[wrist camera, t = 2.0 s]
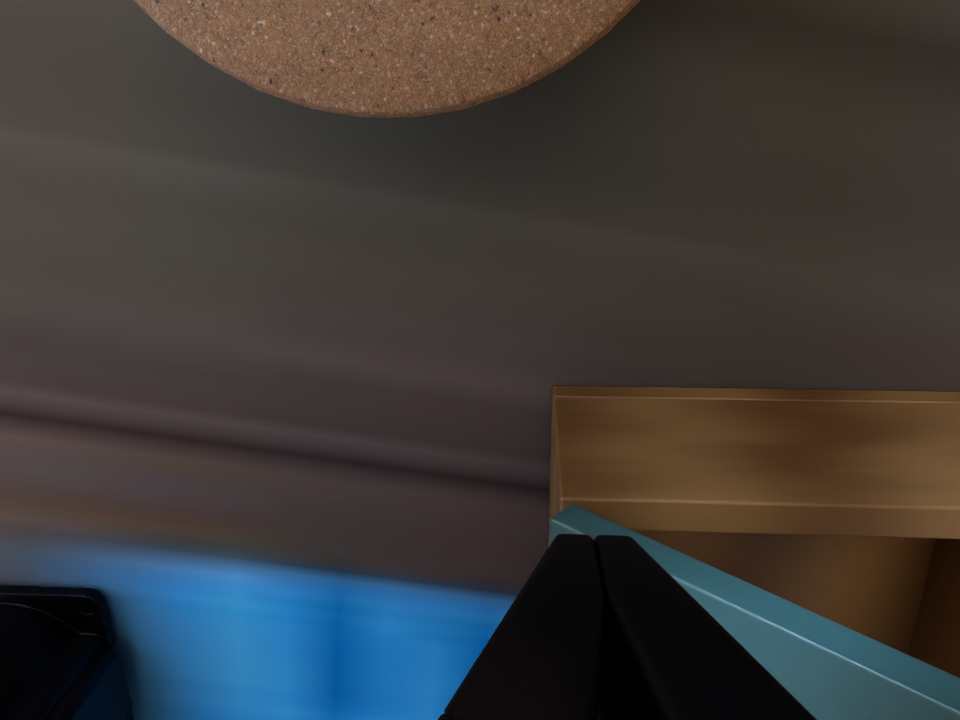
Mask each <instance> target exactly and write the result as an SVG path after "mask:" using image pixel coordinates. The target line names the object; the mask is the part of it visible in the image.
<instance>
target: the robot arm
mask: <svg viewBox="0 0 960 720" xmlns="http://www.w3.org/2000/svg"><path fill="white" fill-rule="evenodd" d="M87 603H89V604H90V605H92V606H89V605H88V604H87ZM0 720H133V715H132V711H131V700H130V695H129V691H128V686H127V682H126V677H125V673H124V669H123V664H122V660H121V655H120V652H119V651H118V649H117V645H116V640H115V636H114V632H113V627H112V623H111V618H110V614H109V610H108V605H107V601H106V599H105V596H104V595H103V594H102V593H101V592H99V591H97V590H95V589H91V588H66V587H35V586H4V585H0ZM438 720H817V719H816V718H815V717H814V716H813V715H812V714H811V713H810V712H809V711H808V710H807V709H806V708H805V707H804V706H803V705H802V704H801V703H800V702H799V701H798V700H797V699H796V698H795V697H794V696H793V695H792V694H791V693H790V692H789V691H788V690H786V689H785V688H784V687H783V686H782V685H781V684H780V683H779V682H778V681H777V680H776V679H775V678H774V677H773V676H772V675H771V674H770V673H769V672H768V671H767V670H766V669H765V668H764V667H763V666H762V665H761V664H760V663H759V662H758V661H757V660H756V659H755V658H754V657H753V656H752V655H751V654H750V653H749V652H748V651H747V650H746V649H745V648H744V647H743V646H742V645H741V644H740V643H739V642H738V641H737V640H736V639H735V638H734V637H733V636H732V635H731V634H730V633H729V632H728V631H727V630H726V629H725V628H724V627H723V626H722V625H720V624H719V623H718V622H717V621H716V620H715V619H714V618H713V617H712V616H711V615H710V614H709V613H708V612H707V611H706V610H705V609H704V608H703V607H702V606H701V605H700V604H699V603H698V602H697V601H696V600H695V599H694V598H693V597H692V596H691V595H690V594H689V593H688V592H687V591H686V590H685V589H684V588H683V587H682V586H681V585H680V584H679V583H678V582H677V581H676V580H675V579H674V578H673V577H672V576H671V575H670V574H669V573H668V572H667V571H666V570H665V569H664V568H663V567H662V566H661V565H660V564H659V563H658V562H657V561H656V560H655V559H653V558H652V557H651V556H650V555H649V554H648V553H647V552H646V551H645V550H644V549H643V548H642V547H641V546H640V545H639V544H638V543H637V542H636V541H635V540H634V539H633V538H632V537H630V536H627V535H598V536H596V537H595V539H593V538H592V536H590V535H588V534H558V535H557V536H556V537H555V538H554V540H553V541H552V543H551V544H550V546H549V548H548V549H547V551H546V552H545V554H544V555H543V557H542V558H541V560H540V562H539V563H538V565H537V566H536V568H535V569H534V571H533V572H532V574H531V576H530V577H529V579H528V580H527V582H526V583H525V585H524V587H523V588H522V590H521V591H520V593H519V594H518V596H517V597H516V599H515V601H514V602H513V604H512V605H511V607H510V608H509V610H508V611H507V613H506V615H505V616H504V618H503V619H502V621H501V622H500V624H499V626H498V627H497V629H496V630H495V632H494V633H493V635H492V636H491V638H490V640H489V641H488V643H487V644H486V646H485V647H484V649H483V650H482V652H481V654H480V655H479V657H478V658H477V660H476V661H475V663H474V665H473V666H472V668H471V669H470V671H469V672H468V674H467V675H466V677H465V679H464V680H463V682H462V683H461V685H460V686H459V688H458V690H457V691H456V693H455V694H454V696H453V697H452V699H451V700H450V702H449V704H448V705H447V707H446V708H445V711H444V714H442V715H441V716H440V717H439V718H438Z"/></svg>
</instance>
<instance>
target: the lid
mask: <svg viewBox="0 0 960 720" xmlns="http://www.w3.org/2000/svg"><path fill="white" fill-rule="evenodd" d="M558 534H588V535H590V536H592V538H593V539H595V537H596V536H598V535H627V536H630V537H632V538H633V539H634V540H635V541H636V542H637V543H638V544H639V545H640V546H641V547H642V548H643V549H644V550H645V551H646V552H647V553H648V554H649V555H650V556H651V557H652V558H653V559H655V560H656V561H657V562H658V563H659V564H660V565H661V566H662V567H663V568H664V569H665V570H666V571H667V572H668V573H669V574H670V575H671V576H672V577H673V578H674V579H675V580H676V581H677V582H678V583H679V584H680V585H681V586H682V587H683V588H684V589H685V590H686V591H687V592H688V593H689V594H690V595H691V596H692V597H693V598H694V599H695V600H696V601H697V602H698V603H699V604H700V605H701V606H702V607H703V608H704V609H705V610H706V611H707V612H708V613H709V614H710V615H711V616H712V617H713V618H714V619H715V620H716V621H717V622H718V623H719V624H720V625H722V626H723V627H724V628H725V629H726V630H727V631H728V632H729V633H730V634H731V635H732V636H733V637H734V638H735V639H736V640H737V641H738V642H739V643H740V644H741V645H742V646H743V647H744V648H745V649H746V650H747V651H748V652H749V653H750V654H751V655H752V656H753V657H754V658H755V659H756V660H757V661H758V662H759V663H760V664H761V665H762V666H763V667H764V668H765V669H766V670H767V671H768V672H769V673H770V674H771V675H772V676H773V677H774V678H775V679H776V680H777V681H778V682H779V683H780V684H781V685H782V686H783V687H784V688H785V689H786V690H788V691H789V692H790V693H791V694H792V695H793V696H794V697H795V698H796V699H797V700H798V701H799V702H800V703H801V704H802V705H803V706H804V707H805V708H806V709H807V710H808V711H809V712H810V713H811V714H812V715H813V716H814V717H815V718H816V719H817V720H960V678H958V677H956V676H954V675H952V674H949V673H947V672H945V671H943V670H941V669H938V668H936V667H934V666H932V665H929V664H927V663H925V662H923V661H921V660H918V659H916V658H914V657H912V656H910V655H907V654H905V653H903V652H901V651H898V650H896V649H894V648H892V647H890V646H887V645H885V644H883V643H881V642H878V641H876V640H874V639H872V638H870V637H867V636H865V635H863V634H861V633H859V632H856V631H854V630H852V629H850V628H847V627H845V626H843V625H841V624H839V623H836V622H834V621H832V620H830V619H828V618H825V617H823V616H821V615H819V614H816V613H814V612H812V611H810V610H808V609H805V608H803V607H801V606H799V605H797V604H794V603H792V602H790V601H788V600H785V599H783V598H781V597H779V596H777V595H774V594H772V593H770V592H768V591H765V590H763V589H761V588H759V587H757V586H754V585H752V584H750V583H748V582H746V581H743V580H741V579H739V578H737V577H734V576H732V575H730V574H728V573H726V572H723V571H721V570H719V569H717V568H715V567H712V566H710V565H708V564H706V563H703V562H701V561H699V560H697V559H695V558H692V557H690V556H688V555H686V554H683V553H681V552H679V551H677V550H675V549H672V548H670V547H668V546H666V545H664V544H661V543H659V542H657V541H655V540H652V539H650V538H648V537H646V536H644V535H641V534H639V533H637V532H635V531H633V530H630V529H628V528H626V527H624V526H621V525H619V524H617V523H615V522H613V521H610V520H608V519H606V518H604V517H602V516H599V515H597V514H595V513H593V512H590V511H588V510H586V509H584V508H582V507H579V506H577V505H575V504H571V505H570V506H568V507H567V508H565V509H564V510H562V511H561V512H559V513H557V514H556V515H554V516H553V517H552V518H551V520H550V544H551V543H552V541H553V540H554V538H555V537H556V536H557V535H558Z"/></svg>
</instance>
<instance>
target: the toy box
mask: <svg viewBox="0 0 960 720" xmlns="http://www.w3.org/2000/svg"><path fill="white" fill-rule="evenodd" d="M571 504H575V505H577V506H579V507H582V508H584V509H586V510H588V511H590V512H593V513H595V514H597V515H599V516H602V517H604V518H606V519H608V520H610V521H613V522H615V523H617V524H619V525H621V526H624V527H626V528H628V529H630V530H633V531H635V532H637V533H639V534H641V535H644V536H646V537H648V538H650V539H652V540H655V541H657V542H659V543H661V544H664V545H666V546H668V547H670V548H672V549H675V550H677V551H679V552H681V553H683V554H686V555H688V556H690V557H692V558H695V559H697V560H699V561H701V562H703V563H706V564H708V565H710V566H712V567H715V568H717V569H719V570H721V571H723V572H726V573H728V574H730V575H732V576H734V577H737V578H739V579H741V580H743V581H746V582H748V583H750V584H752V585H754V586H757V587H759V588H761V589H763V590H765V591H768V592H770V593H772V594H774V595H777V596H779V597H781V598H783V599H785V600H788V601H790V602H792V603H794V604H797V605H799V606H801V607H803V608H805V609H808V610H810V611H812V612H814V613H816V614H819V615H821V616H823V617H825V618H828V619H830V620H832V621H834V622H836V623H839V624H841V625H843V626H845V627H847V628H850V629H852V630H854V631H856V632H859V633H861V634H863V635H865V636H867V637H870V638H872V639H874V640H876V641H878V642H881V643H883V644H885V645H887V646H890V647H892V648H894V649H896V650H898V651H901V652H903V653H905V654H907V655H910V656H912V657H914V658H916V659H918V660H921V661H923V662H925V663H927V664H929V665H932V666H934V667H936V668H938V669H941V670H943V671H945V672H947V673H949V674H952V675H954V676H956V677H958V678H960V392H939V391H872V390H805V389H739V388H672V387H605V386H553V388H552V422H551V460H550V498H549V535H548V548H549V546H550V520H551V518H552V517H553V516H554V515H556V514H557V513H559V512H561V511H562V510H564V509H565V508H567V507H568V506H570V505H571Z"/></svg>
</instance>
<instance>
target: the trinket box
mask: <svg viewBox="0 0 960 720" xmlns="http://www.w3.org/2000/svg"><path fill="white" fill-rule="evenodd" d="M134 1H135V2H136V3H137V4H138V5H139V6H140V7H141V8H142V9H143V10H144V11H145V12H146V13H147V14H148V15H149V16H150V17H151V18H152V19H153V20H154V21H155V22H156V23H157V24H158V25H159V26H160V27H161V28H163V29H164V30H165V31H166V32H167V33H168V34H170V35H171V36H172V37H174V38H175V39H176V40H178V41H179V42H181V43H182V44H183V45H185V46H186V47H187V48H189V49H190V50H191V51H193V52H194V53H195V54H197V55H198V56H199V57H201V58H202V59H204V60H205V61H206V62H208V63H209V64H210V65H212V66H214V67H216V68H217V69H219V70H221V71H223V72H225V73H227V74H229V75H231V76H233V77H234V78H236V79H238V80H240V81H242V82H244V83H246V84H248V85H249V86H251V87H253V88H255V89H257V90H259V91H261V92H264V93H267V94H270V95H273V96H276V97H279V98H281V99H284V100H287V101H290V102H293V103H296V104H299V105H302V106H304V107H307V108H311V109H316V110H322V111H328V112H333V113H339V114H345V115H350V116H356V117H381V118H414V117H420V116H427V115H433V114H440V113H446V112H452V111H459V110H464V109H467V108H470V107H473V106H476V105H479V104H482V103H485V102H488V101H491V100H494V99H497V98H500V97H503V96H506V95H509V94H512V93H514V92H516V91H518V90H520V89H522V88H524V87H526V86H528V85H530V84H532V83H533V82H535V81H537V80H539V79H541V78H543V77H545V76H547V75H549V74H551V73H553V72H554V71H556V70H558V69H560V68H562V67H563V66H565V65H566V64H567V63H569V62H570V61H571V60H573V59H574V58H575V57H577V56H578V55H579V54H581V53H582V52H583V51H585V50H586V49H587V48H589V47H590V46H591V45H593V44H594V43H596V42H597V41H598V40H600V39H601V38H602V37H604V36H605V35H606V34H608V33H609V32H610V31H611V30H612V29H613V28H614V26H615V25H616V24H617V23H618V22H619V21H620V20H621V19H622V18H623V17H624V16H625V15H626V14H627V13H628V12H629V11H630V10H631V9H632V8H633V7H634V6H635V5H636V4H637V3H638V2H639V1H640V0H134Z"/></svg>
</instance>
